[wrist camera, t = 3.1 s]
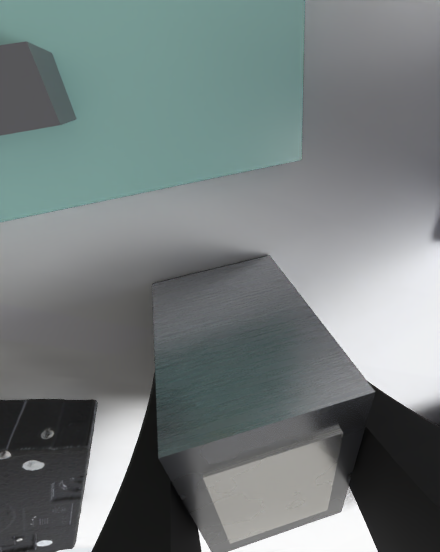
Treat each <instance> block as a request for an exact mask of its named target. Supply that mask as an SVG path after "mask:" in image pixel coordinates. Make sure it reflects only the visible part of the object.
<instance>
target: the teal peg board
mask: <svg viewBox="0 0 440 552" xmlns="http://www.w3.org/2000/svg"><path fill="white" fill-rule="evenodd" d="M304 24H305V0H0V222H4V221H9V220H14V219H19V218H24V217H28V216H33V215H38V214H43V213H48V212H53V211H57V210H62V209H67V208H72V207H77V206H82V205H87V204H91V203H96V202H101V201H106V200H111V199H116V198H120V197H125V196H130V195H135V194H140V193H145V192H149V191H154V190H159V189H164V188H169V187H174V186H179V185H183V184H188V183H193V182H198V181H203V180H208V179H212V178H217V177H222V176H227V175H232V174H237V173H242V172H246V171H251V170H256V169H261V168H266V167H271V166H275V165H280V164H285V163H290V162H295V161H300V160H302V119H303V71H304Z"/></svg>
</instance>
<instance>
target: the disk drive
mask: <svg viewBox="0 0 440 552" xmlns="http://www.w3.org/2000/svg"><path fill="white" fill-rule="evenodd" d="M96 410H97V401H96V400H64V399H29V400H24V401H19V400H0V552H56V551H58V550H64V549H72V548H73V547H74V545H75V542H76V537H77V531H78V524H79V518H80V513H81V505H82V499H83V494H84V487H85V481H86V475H87V469H88V463H89V457H90V449H91V443H92V436H93V431H94V423H95V416H96Z"/></svg>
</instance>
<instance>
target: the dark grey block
mask: <svg viewBox="0 0 440 552" xmlns="http://www.w3.org/2000/svg"><path fill="white" fill-rule="evenodd" d="M152 295H153V323H154V351H155V379H156V407H157V435H158V459H159V460H160V462H161V464H162V466H163V467H164V469H165V471H166V473H167V474H168V476H169V478H170V480H171V481H172V483H173V485H174V487H175V488H176V490H177V492H178V494H179V495H180V497H181V499H182V501H183V502H184V504H185V506H186V508H187V509H188V511H189V513H190V515H191V516H192V518H193V520H194V522H195V523H196V525H197V527H198V529H199V530H200V532H201V534H202V536H203V538H204V539H205V541H206V543H207V545H208V546H209V548H210V550H211V552H228V551H231V550H234V549H236V548H239V547H242V546H245V545H248V544H251V543H254V542H257V541H259V540H262V539H265V538H268V537H271V536H274V535H277V534H279V533H282V532H285V531H288V530H291V529H294V528H297V527H299V526H302V525H305V524H308V523H311V522H314V521H317V520H319V519H322V518H325V517H328V516H331V515H334V514H337V513H339V512H341V511H342V507H343V504H344V500H345V497H346V493H347V490H348V486H349V483H350V479H351V476H352V472H353V469H354V465H355V462H356V458H357V455H358V451H359V448H360V444H361V441H362V437H363V434H364V430H365V427H366V423H367V420H368V416H369V413H370V409H371V406H372V402H373V399H374V395H375V391H374V389H373V388H372V387H371V386H370V384H369V383H368V382H367V380H366V379H365V378H364V377H363V375H362V374H361V373H360V371H359V370H358V369H357V368H356V366H355V365H354V364H353V362H352V361H351V360H350V358H349V357H348V356H347V355H346V353H345V352H344V351H343V349H342V348H341V347H340V346H339V344H338V343H337V342H336V340H335V339H334V338H333V337H332V335H331V334H330V333H329V331H328V330H327V329H326V327H325V326H324V325H323V324H322V322H321V321H320V320H319V318H318V317H317V316H316V315H315V313H314V312H313V311H312V309H311V308H310V307H309V306H308V304H307V303H306V302H305V300H304V299H303V298H302V297H301V295H300V294H299V293H298V291H297V290H296V289H295V287H294V286H293V285H292V284H291V282H290V281H289V280H288V278H287V277H286V276H285V275H284V273H283V272H282V271H281V269H280V268H279V267H278V266H277V264H276V263H275V262H274V260H273V259H272V258H271V256H265V257H261V258H257V259H253V260H249V261H245V262H240V263H236V264H232V265H228V266H224V267H220V268H216V269H211V270H207V271H203V272H199V273H195V274H191V275H186V276H182V277H178V278H174V279H170V280H166V281H161V282H157V283H153V284H152Z"/></svg>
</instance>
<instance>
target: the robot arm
mask: <svg viewBox="0 0 440 552" xmlns="http://www.w3.org/2000/svg"><path fill="white" fill-rule="evenodd" d="M367 382H368V381H367ZM368 383H369V382H368ZM369 384H370V386H371V387H372V388H373V389H374V391H375V395H374V399H373V402H372V406H371V409H370V413H369V416H368V420H367V423H366V427H365V430H364V434H363V437H362V441H361V444H360V448H359V451H358V455H357V458H356V462H355V465H354V469H353V472H352V476H351V479H350V483H349V486H350V489H351V491H352V493H353V495H354V498H355V500H356V502H357V504H358V506H359V509H360V511H361V513H362V515H363V518H364V520H365V522H366V525H367V527H368V529H369V532H370V534H371V536H372V538H373V541H374V543H375V545H376V548H377V550H378V552H440V426H438V425H436V424H434V423H432V422H431V421H429V420H427V419H425V418H424V417H422V416H420V415H419V414H417V413H415V412H414V411H412V410H410V409H409V408H407V407H405V406H404V405H402V404H401V403H399V402H397V401H396V400H394V399H393V398H391V397H390V396H388V395H387V394H385V393H384V392H382V391H381V390H379V389H378V388H376V387H375V386H374V385H372V384H371V383H369ZM92 552H201V546H200V540H199V533H198V527H197V525H196V523H195V522H194V520H193V518H192V516H191V515H190V513H189V511H188V509H187V508H186V506H185V504H184V502H183V501H182V499H181V497H180V495H179V494H178V492H177V490H176V488H175V487H174V485H173V483H172V481H171V480H170V478H169V476H168V474H167V473H166V471H165V469H164V467H163V466H162V464H161V462H160V460H159V459H158V435H157V407H156V379H155V373H154V379H153V384H152V389H151V394H150V398H149V402H148V406H147V410H146V414H145V417H144V420H143V424H142V427H141V431H140V434H139V437H138V440H137V443H136V446H135V449H134V452H133V455H132V458H131V461H130V464H129V466H128V469H127V472H126V474H125V477H124V479H123V482H122V485H121V487H120V489H119V492H118V494H117V497H116V499H115V501H114V504H113V506H112V508H111V511H110V513H109V515H108V517H107V520H106V522H105V524H104V526H103V528H102V531H101V533H100V535H99V537H98V539H97V541H96V543H95V546H94V548H93V550H92Z"/></svg>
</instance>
